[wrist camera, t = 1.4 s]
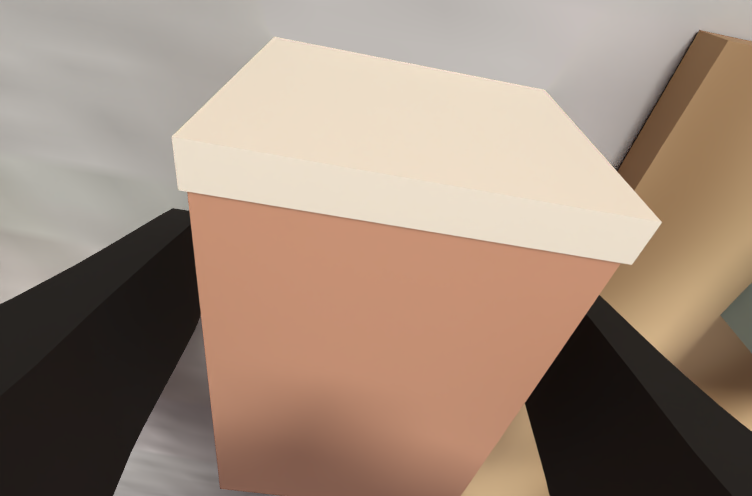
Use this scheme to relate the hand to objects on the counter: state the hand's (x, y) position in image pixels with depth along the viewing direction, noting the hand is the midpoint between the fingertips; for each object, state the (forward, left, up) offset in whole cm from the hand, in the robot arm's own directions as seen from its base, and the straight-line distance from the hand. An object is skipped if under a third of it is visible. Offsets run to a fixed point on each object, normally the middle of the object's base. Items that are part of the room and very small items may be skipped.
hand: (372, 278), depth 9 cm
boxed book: (0, 0, -2) cm, 2 cm away
